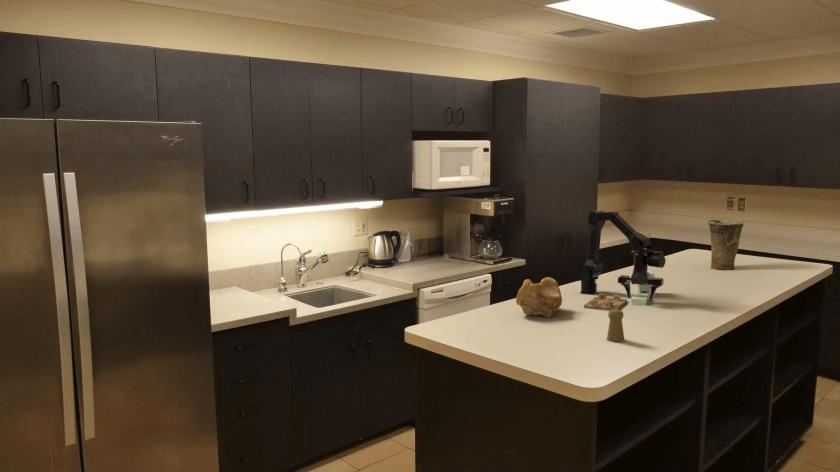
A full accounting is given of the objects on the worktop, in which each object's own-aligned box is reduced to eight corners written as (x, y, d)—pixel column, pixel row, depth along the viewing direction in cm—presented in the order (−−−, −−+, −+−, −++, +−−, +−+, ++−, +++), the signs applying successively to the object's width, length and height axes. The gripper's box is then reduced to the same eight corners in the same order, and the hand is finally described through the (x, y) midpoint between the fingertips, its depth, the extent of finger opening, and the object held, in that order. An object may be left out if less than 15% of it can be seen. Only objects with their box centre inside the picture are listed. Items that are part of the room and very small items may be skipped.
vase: (706, 264, 363) (708, 218, 359) (741, 266, 355) (743, 219, 351) (705, 270, 347) (707, 222, 343) (742, 272, 339) (744, 223, 335)
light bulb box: (654, 297, 287) (655, 274, 286) (639, 297, 289) (639, 274, 287) (650, 292, 298) (651, 270, 296) (636, 292, 299) (636, 270, 298)
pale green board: (631, 305, 276) (631, 298, 276) (634, 299, 287) (634, 292, 286) (645, 306, 273) (646, 299, 273) (648, 300, 284) (648, 293, 284)
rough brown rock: (541, 325, 251) (545, 288, 248) (509, 314, 263) (512, 279, 260) (575, 315, 266) (578, 281, 264) (543, 306, 278) (546, 273, 276)
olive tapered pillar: (604, 337, 228) (604, 308, 226) (620, 337, 228) (620, 307, 227) (610, 342, 222) (610, 312, 221) (627, 341, 222) (627, 311, 221)
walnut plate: (584, 307, 272) (584, 300, 272) (595, 299, 287) (595, 292, 287) (616, 311, 265) (616, 303, 265) (627, 302, 280) (627, 295, 280)
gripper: (614, 266, 276) (614, 301, 278) (659, 269, 266) (658, 305, 268) (621, 262, 285) (620, 296, 287) (664, 265, 276) (663, 300, 278)
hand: (640, 299), depth 280 cm, fingers open, 9 cm apart
